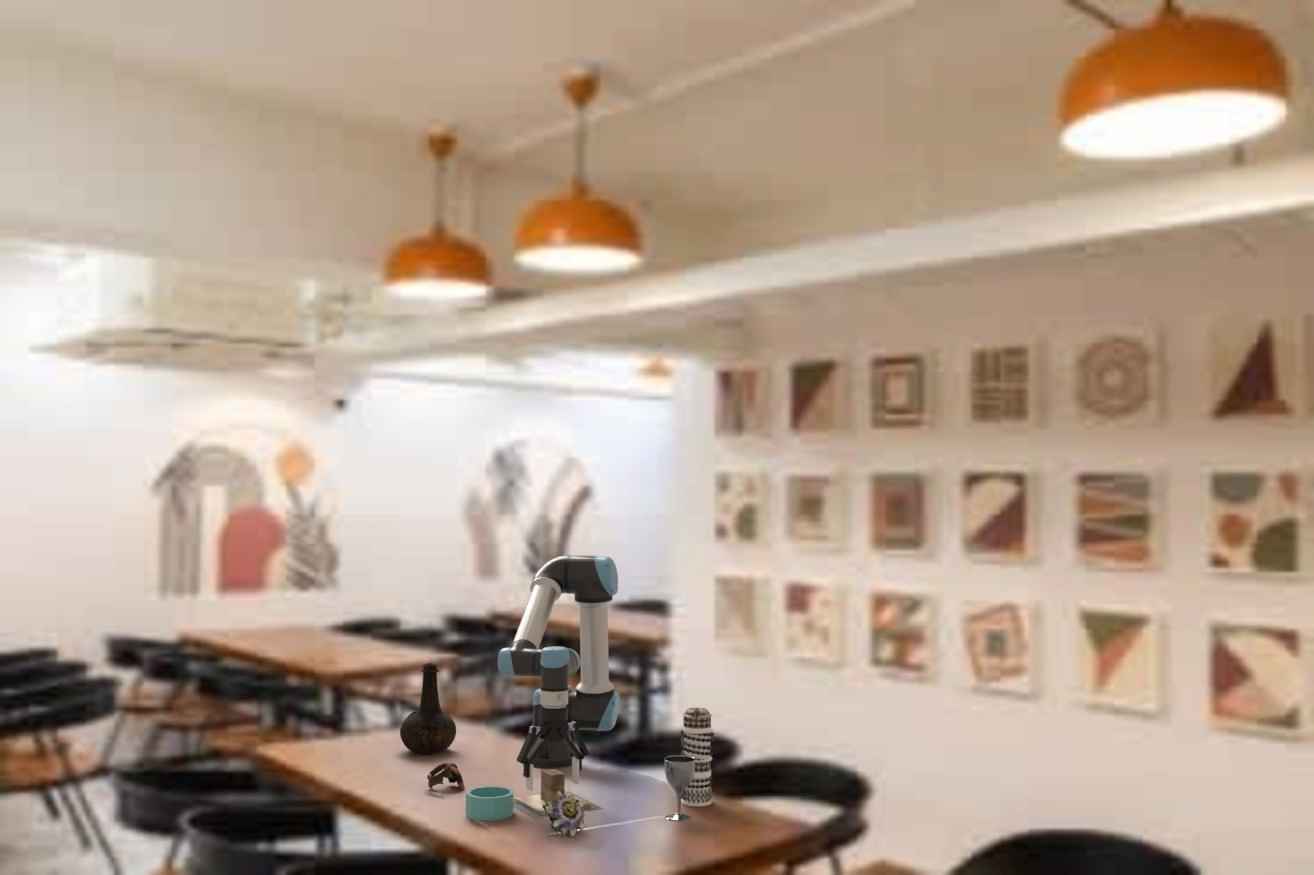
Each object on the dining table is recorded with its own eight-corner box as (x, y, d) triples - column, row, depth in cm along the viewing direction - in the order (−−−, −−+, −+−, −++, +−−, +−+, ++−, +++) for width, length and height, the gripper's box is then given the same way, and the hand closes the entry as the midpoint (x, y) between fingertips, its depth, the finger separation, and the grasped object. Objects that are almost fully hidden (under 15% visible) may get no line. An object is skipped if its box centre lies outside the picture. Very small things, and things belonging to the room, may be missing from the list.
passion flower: (571, 858, 280) (557, 826, 274) (540, 841, 287) (526, 809, 281) (600, 825, 286) (588, 792, 280) (569, 809, 293) (556, 776, 287)
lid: (564, 794, 316) (565, 763, 317) (590, 807, 304) (591, 775, 304) (514, 801, 308) (515, 769, 309) (539, 815, 296) (539, 781, 296)
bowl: (501, 807, 305) (502, 784, 305) (520, 818, 295) (521, 794, 295) (459, 813, 298) (459, 789, 299) (477, 824, 288) (477, 800, 289)
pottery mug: (463, 795, 318) (448, 771, 316) (433, 809, 319) (419, 784, 318) (472, 774, 329) (458, 750, 328) (444, 787, 331) (430, 763, 330)
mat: (568, 793, 320) (568, 791, 320) (603, 810, 303) (603, 808, 303) (502, 802, 309) (502, 800, 309) (534, 821, 292) (534, 819, 292)
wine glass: (698, 815, 300) (698, 756, 300) (689, 823, 292) (689, 763, 293) (669, 811, 302) (670, 754, 303) (659, 819, 295) (660, 760, 296)
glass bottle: (429, 743, 381) (431, 658, 382) (467, 750, 370) (469, 663, 372) (387, 752, 366) (389, 664, 368) (426, 760, 356) (428, 669, 357)
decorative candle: (689, 808, 306) (690, 713, 307) (673, 800, 314) (674, 707, 315) (719, 804, 310) (720, 711, 311) (702, 796, 318) (703, 705, 320)
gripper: (517, 712, 298) (515, 795, 296) (601, 704, 311) (600, 783, 310) (505, 707, 304) (503, 788, 303) (588, 699, 317) (587, 777, 316)
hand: (552, 786), depth 306 cm, fingers open, 13 cm apart
